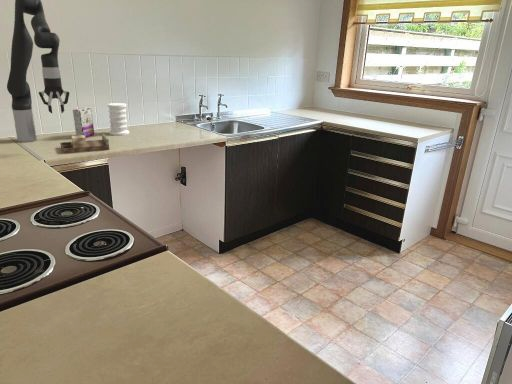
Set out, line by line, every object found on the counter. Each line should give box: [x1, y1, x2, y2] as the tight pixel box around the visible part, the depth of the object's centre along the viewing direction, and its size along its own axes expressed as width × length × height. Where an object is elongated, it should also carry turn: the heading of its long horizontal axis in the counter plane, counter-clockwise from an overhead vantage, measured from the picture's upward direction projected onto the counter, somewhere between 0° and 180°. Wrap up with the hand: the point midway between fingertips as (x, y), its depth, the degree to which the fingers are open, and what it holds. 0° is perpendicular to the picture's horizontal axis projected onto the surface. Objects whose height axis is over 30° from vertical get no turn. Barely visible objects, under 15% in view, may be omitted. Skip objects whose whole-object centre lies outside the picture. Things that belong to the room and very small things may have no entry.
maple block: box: [71, 135, 87, 146], centre depth 202 cm, size 6×6×4 cm
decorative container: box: [107, 102, 130, 136], centre depth 239 cm, size 12×12×18 cm
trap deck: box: [59, 133, 110, 154], centre depth 204 cm, size 22×14×6 cm, turn 120°
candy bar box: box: [72, 106, 95, 139], centre depth 228 cm, size 11×5×16 cm, turn 168°
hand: (56, 112), depth 193 cm, fingers open, 4 cm apart
